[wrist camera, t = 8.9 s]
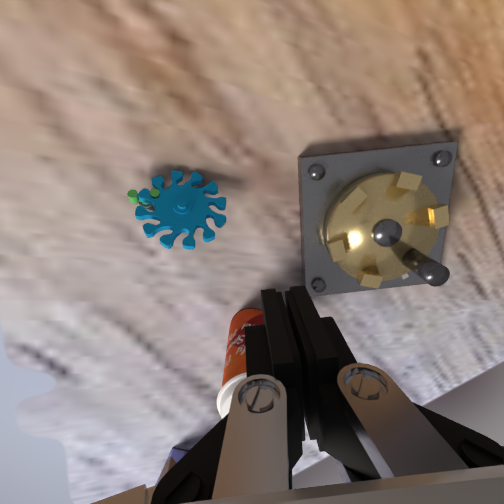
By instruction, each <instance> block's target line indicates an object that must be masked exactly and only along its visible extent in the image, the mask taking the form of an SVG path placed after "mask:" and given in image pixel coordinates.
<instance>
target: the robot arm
mask: <svg viewBox="0 0 504 504" xmlns="http://www.w3.org/2000/svg"><path fill="white" fill-rule="evenodd" d="M261 298H262V308H263V318H264V324H261V325H252V326H245V327H244V328H245V352H246V375H247V378H245V379H244V380H242V381H241V382H239V384H238V385H237V386H236V387H235V389H234V392H233V394H232V399H231V404H230V409H229V413H228V414H227V415H226V416H225V417H224V418H223V419H222V420H221V421H220V422H219V423H218V424H217V425H216V426H215V427H214V428H212V429H211V430H210V431H209V432H208V433H207V434H206V435H205V436H204V437H203V438H202V439H201V440H200V441H199V442H198V443H197V444H196V445H195V446H194V447H193V448H192V449H191V450H190V451H189V452H188V453H186V454H185V455H184V456H183V457H182V458H181V459H180V460H179V461H178V462H177V463H176V464H175V465H174V466H173V467H172V468H171V469H170V470H169V471H168V472H167V473H166V474H165V475H164V476H163V478H162V479H161V480H160V481H159V482H158V484H157V485H155V486H153V487H150V488H146V485H145V484H144V485H141V486H138V487H136V488H133V489H130V490H127V491H125V492H122V493H119V494H116V495H114V496H111V497H108V498H105V499H103V500H100V501H97V502H94V503H92V504H504V446H500V445H499V444H498V443H497V442H495V441H493V440H491V439H490V438H488V437H486V436H484V435H482V434H480V433H478V432H476V431H474V430H472V429H469V428H467V427H465V426H463V425H461V424H459V423H456V422H454V421H452V420H450V419H448V418H446V417H444V416H441V415H439V414H437V413H435V412H433V411H431V410H428V409H426V408H424V407H422V406H420V405H418V404H416V403H413V402H412V401H411V400H410V399H409V398H408V397H407V396H406V395H405V393H404V392H403V391H402V390H401V389H400V388H399V386H398V385H397V384H396V383H395V382H394V381H393V380H392V378H391V377H390V376H389V375H388V374H386V373H385V372H384V371H383V370H381V369H379V368H377V367H375V366H372V365H369V364H363V363H357V361H356V359H355V358H354V356H353V354H352V352H351V350H350V348H349V347H348V345H347V343H346V341H345V339H344V337H343V336H342V334H341V332H340V330H339V328H338V326H337V325H336V323H335V321H334V319H333V318H332V317H323V318H320V316H319V314H318V312H317V310H316V308H315V306H314V304H313V301H312V299H311V297H310V295H309V293H308V291H307V289H306V287H305V285H302V286H293V287H290V291H285V301H286V307H285V303H284V300H283V297H282V293H281V292H276V290H275V289H266V290H261ZM304 417H305V421H306V425H307V429H308V433H309V437H310V440H315V439H317V443H318V447H319V451H320V452H322V451H325V452H327V453H328V454H330V455H331V456H333V457H334V458H335V459H337V465H338V469H339V472H340V474H341V476H342V478H343V480H344V483H342V484H334V485H325V486H317V487H309V488H301V489H293V477H292V469H293V467H294V466H295V464H296V463H297V461H298V460H299V459H300V457H301V456H302V454H303V451H302V441H305V423H304Z"/></svg>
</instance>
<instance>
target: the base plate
mask: <svg viewBox="0 0 504 504" xmlns="http://www.w3.org/2000/svg"><path fill="white" fill-rule="evenodd" d="M457 144H458V142H437V143H428V144H418V145H409V146H400V147H390V148H381V149H371V150H362V151H352V152H343V153H334V154H324V155H315V156H305V157H298V177H299V201H300V226H301V251H302V276H303V285H305V287H306V289H307V291H308V293H309V295H310V297H312V296H321V295H330V294H339V293H347V292H356V291H365V290H374V289H383V288H392V287H401V286H410V285H419V284H428V283H427V282H426V281H424V280H423V279H421V278H420V277H419V276H417V275H416V274H415V273H413V272H412V271H409V272H408V273H406V274H404V275H402V276H400V277H398V278H395V279H392V280H388V281H382V282H381V283H380V286H379V288H372V287H366V286H360V285H359V284H358V283H357V280H358V279H357V278H355V277H353V276H351V275H349V274H348V273H346V272H345V271H344V270H343V269H342V268H341V267H340V266H339V265H338V263H337V262H333V261H332V260H331V257H330V253H329V250H328V248H327V245H326V241H325V222H326V218H327V215H328V212H329V210H330V208H331V206H332V204H333V202H334V201H335V199H336V198H337V197H338V196H339V194H340V193H341V192H342V191H343V190H344V189H345V188H346V187H348V186H349V185H350V184H352V183H353V182H355V181H356V180H358V179H360V178H362V177H365V176H367V175H371V174H375V173H396V172H397V171H401V172H406V173H411V174H415V175H420V176H422V179H421V181H420V182H422V183H423V184H425V185H426V186H427V187H428V188H429V189H430V190H431V192H432V193H433V194H434V196H435V198H436V200H437V202H438V204H441V203H443V204H446V205H448V207H449V200H450V193H451V186H452V179H453V172H454V165H455V158H456V151H457ZM445 228H446V226H444V227H441V228H440V229H439V233H438V236H437V239H436V242H435V244H434V245H433V247H432V249H431V251H430V252H429V254H428V255H427V256H428V257H430V258H432V259H433V260H435V261H437V262H438V263H440V262H441V255H442V248H443V241H444V234H445Z"/></svg>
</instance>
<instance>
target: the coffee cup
mask: <svg viewBox="0 0 504 504" xmlns="http://www.w3.org/2000/svg"><path fill="white" fill-rule="evenodd" d="M261 324H264V318H263V311H261V310H258V309H254V308H249V309H244V310H241V311H240V312H238V313H237V314H236V315H235V316H234V317H233V319H232V321H231V325H230V330H229V337H228V344H227V351H226V359H225V367H224V375H223V382H222V388H221V390H220V392H219V394H218V397H217V408H218V411H219V414H220V415H221V418H222V419H223V418H224V417H225V416H226V415H227V414H228V413H229V409H230V404H231V399H232V394H233V392H234V389H235V387H236V386H237V385H238V384H239V382H241V381H242V380H244V379H245V378H247V375H246V352H245V328H244V327H245V326H252V325H261Z"/></svg>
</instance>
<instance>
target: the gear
mask: <svg viewBox="0 0 504 504" xmlns="http://www.w3.org/2000/svg"><path fill="white" fill-rule="evenodd" d="M171 177H172V184H171V186H170V188H169V189H163V186H164V180H163V177H162V176H157V177H154V178H152V179H151V180H152V185H153V187H154V188H156V189H152V190H151V191H149V190H148V189H146V188H144V189H142V190H141V191H140V192H139V193H137V191H136V190H130V191H128V193H127V194H128V197H129V200H130V202H131V203H132V204H137V203H139V205H140V206H138V207H137V208H136V212H135V216H136V218H137V219H138V220H144V219H155V220H158V221H160V224H158V225H153V224H150V223H146V224H144V225H143V229H144V232H145V234H146V236H147V238H151V237H153V236H154V235H155V234H156V233H158V232H160V231H162V230H168V229H170V230H172V231H173V232H172V233H171V234H168V235H163V236H162V237H161V238H160V243H161V244H162V245H163V246H164V247H166V248H168V249H170V248H171V247H172V246H173V243H174V240H175V239H176V237H177V236H178V235H180V234H181V233H183V232H184V233H185V232H187V233H189V235H188V236H187V237H186V238H184V239H183V242H182V243H183V248H185V249H194V248H195V240H194V237H193V236H194V232H195V230H196V229H197V228H203V229H204V232H203V240H204V241H205V242H209V241H212V240H214V239H215V232H214V231H213V230H212V229H210V228H209V227H208V225H207V223H206V219H207V218H213V219H214V222H215V225H216V226H217V227H218V228H221V227H222V226H223V225H224V224H225V222H226V216H225V215H222V214H217V213H215V212H214V211H212V210H211V209H210V208H209V206H210V205H214V206H216V207H217V208H218V209H219V210H225V207H226V198H224V197H219V198H209V197H206V196H204V195H203V194H205V193H208V194H211V195H216V194H217V193H218V186H217V184H216V183H215V182H210V183H209V184H208V185H206V186H204V187H201V188H193V187H192V186H194V185H200V184H201V183H202V181H203V177H202V175H200V174H199V173H197V172H193V173H192V175H191V178H190V180H189V181H188V182H187V183H185V184H184V185H178V183H179V182H181V181H182V180H183V173H182V172H181V171H175V170H173V171H172V172H171Z"/></svg>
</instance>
